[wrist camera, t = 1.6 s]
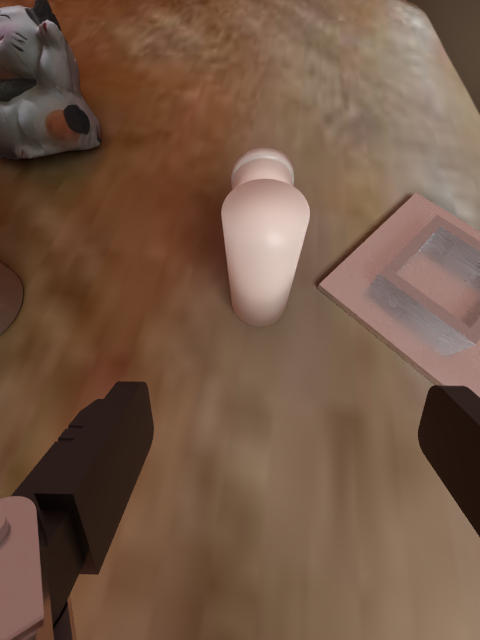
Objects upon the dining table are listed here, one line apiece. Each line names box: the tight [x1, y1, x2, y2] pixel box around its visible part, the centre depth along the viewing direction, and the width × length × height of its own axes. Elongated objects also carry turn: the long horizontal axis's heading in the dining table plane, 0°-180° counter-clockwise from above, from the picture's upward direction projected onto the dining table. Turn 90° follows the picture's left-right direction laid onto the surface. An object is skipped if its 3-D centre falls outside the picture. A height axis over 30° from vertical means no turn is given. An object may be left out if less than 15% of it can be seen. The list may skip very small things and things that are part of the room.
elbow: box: [221, 148, 310, 327], centre depth 24 cm, size 9×5×12 cm, turn 179°
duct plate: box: [317, 193, 480, 397], centre depth 27 cm, size 16×16×3 cm
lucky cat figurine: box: [0, 0, 102, 160], centre depth 33 cm, size 15×12×14 cm
